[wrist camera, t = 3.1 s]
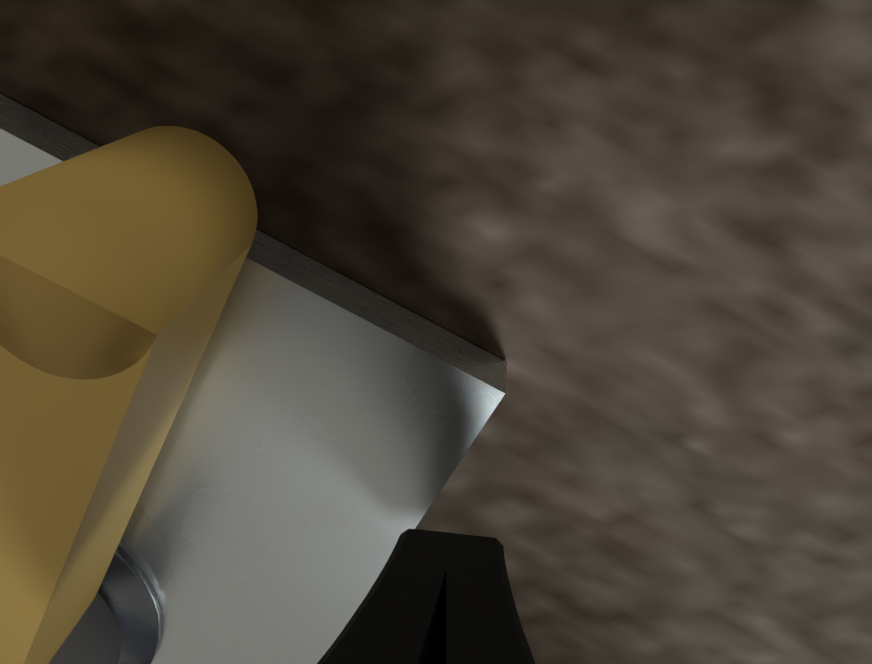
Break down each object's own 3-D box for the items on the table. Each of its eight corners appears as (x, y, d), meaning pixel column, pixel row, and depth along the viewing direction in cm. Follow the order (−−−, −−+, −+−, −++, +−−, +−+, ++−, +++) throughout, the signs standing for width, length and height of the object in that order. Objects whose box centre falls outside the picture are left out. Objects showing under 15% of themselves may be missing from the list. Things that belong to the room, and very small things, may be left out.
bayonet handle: (87, 726, 14) (-25, 916, 11) (-99, 644, 14) (-264, 819, 11) (342, 205, 10) (263, 302, 7) (73, 60, 9) (-132, 98, 6)
